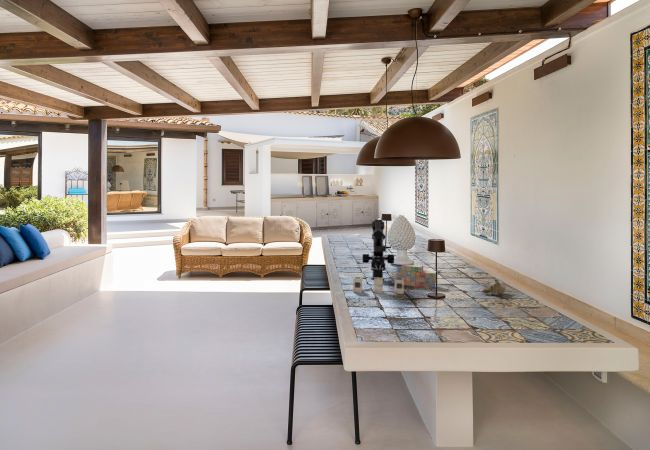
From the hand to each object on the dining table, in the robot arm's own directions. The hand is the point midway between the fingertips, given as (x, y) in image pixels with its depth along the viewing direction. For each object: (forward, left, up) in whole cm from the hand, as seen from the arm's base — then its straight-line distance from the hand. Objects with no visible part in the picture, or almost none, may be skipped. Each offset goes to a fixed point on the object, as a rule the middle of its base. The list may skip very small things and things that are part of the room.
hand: (378, 270), depth 283 cm
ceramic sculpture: (+44, +50, -13) cm, 68 cm away
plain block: (+2, -2, -12) cm, 13 cm away
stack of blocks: (+3, +30, -13) cm, 33 cm away
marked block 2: (+10, +7, -12) cm, 17 cm away
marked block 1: (-6, -11, -12) cm, 17 cm away
